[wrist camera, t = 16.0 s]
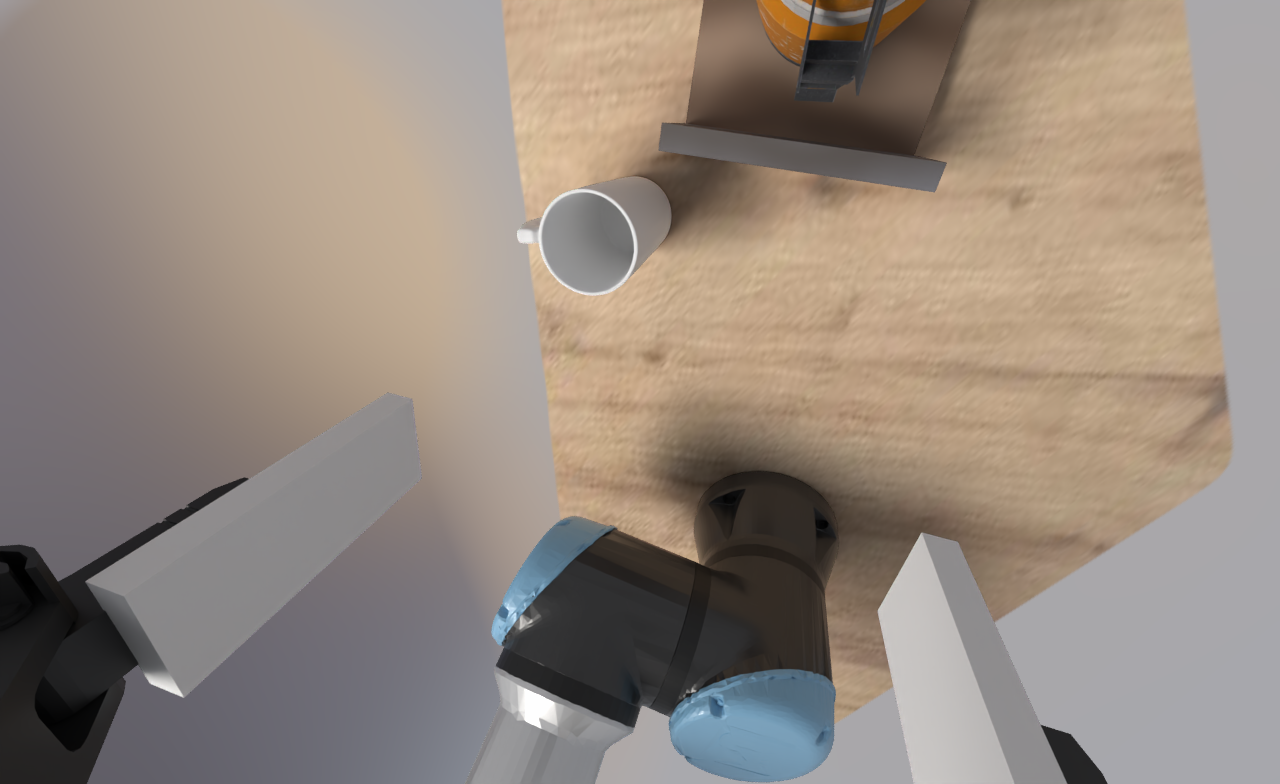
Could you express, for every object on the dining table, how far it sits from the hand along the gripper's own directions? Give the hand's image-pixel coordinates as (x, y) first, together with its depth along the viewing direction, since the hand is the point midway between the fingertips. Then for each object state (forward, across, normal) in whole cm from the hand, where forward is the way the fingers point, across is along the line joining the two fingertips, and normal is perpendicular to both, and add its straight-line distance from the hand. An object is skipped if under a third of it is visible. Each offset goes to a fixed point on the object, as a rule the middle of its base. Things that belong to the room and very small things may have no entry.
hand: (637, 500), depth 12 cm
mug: (+33, +11, -2) cm, 34 cm away
